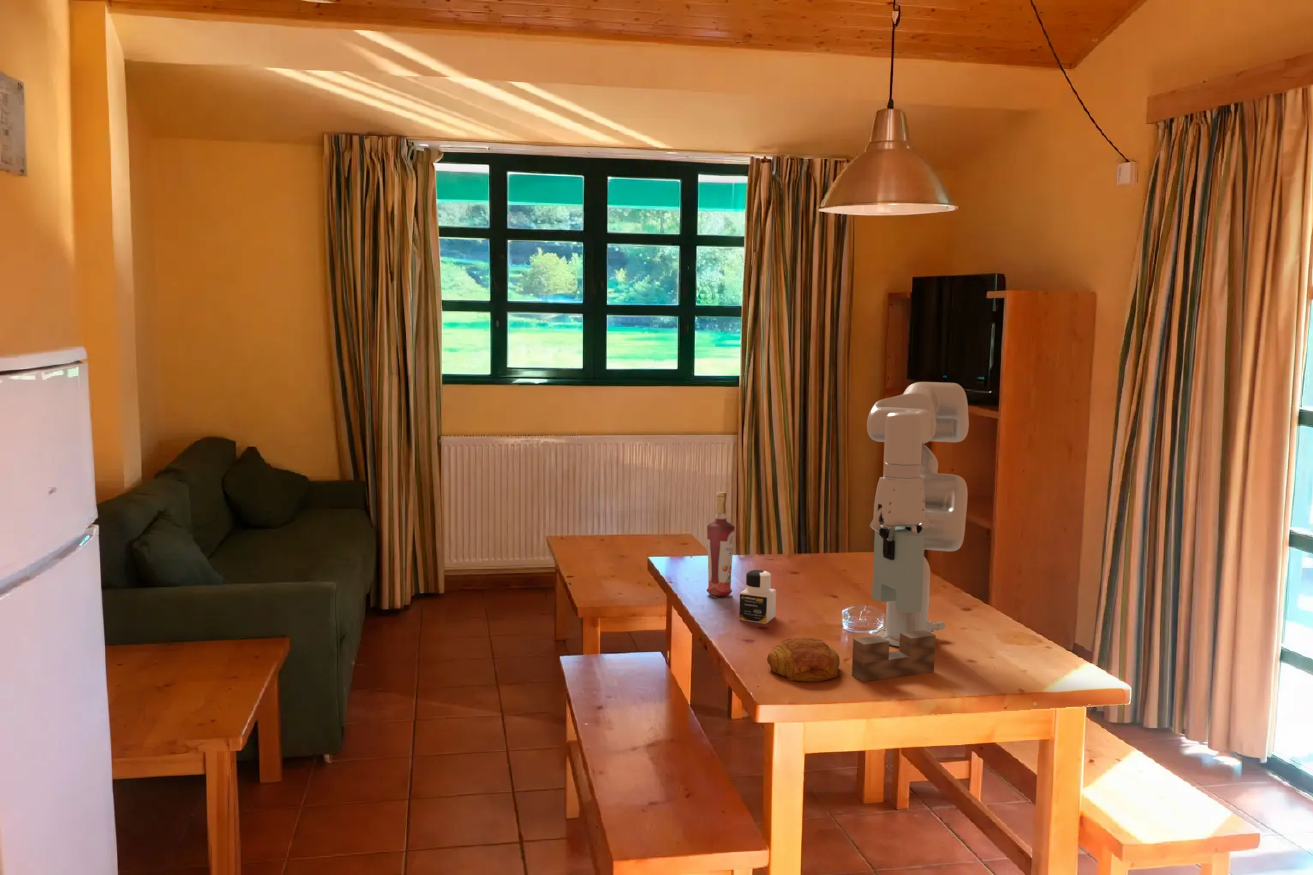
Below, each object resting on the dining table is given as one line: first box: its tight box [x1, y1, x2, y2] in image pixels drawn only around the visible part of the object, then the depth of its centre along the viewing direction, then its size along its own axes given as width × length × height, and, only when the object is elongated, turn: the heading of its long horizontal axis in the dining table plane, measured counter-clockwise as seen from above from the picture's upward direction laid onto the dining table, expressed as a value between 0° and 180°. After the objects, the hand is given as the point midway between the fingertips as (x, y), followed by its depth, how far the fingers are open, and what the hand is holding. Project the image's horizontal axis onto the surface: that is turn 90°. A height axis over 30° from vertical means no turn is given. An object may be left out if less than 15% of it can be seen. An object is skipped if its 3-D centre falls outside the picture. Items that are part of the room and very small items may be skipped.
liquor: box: [706, 491, 735, 599], centre depth 281 cm, size 7×7×28 cm
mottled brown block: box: [851, 630, 937, 683], centre depth 224 cm, size 18×4×8 cm, turn 112°
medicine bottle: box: [738, 569, 777, 625], centre depth 262 cm, size 7×7×12 cm
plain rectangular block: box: [871, 524, 925, 613], centre depth 221 cm, size 12×4×16 cm, turn 22°
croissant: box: [766, 637, 841, 683], centre depth 225 cm, size 14×16×8 cm
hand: (898, 556), depth 221 cm, fingers closed on plain rectangular block, 4 cm apart
